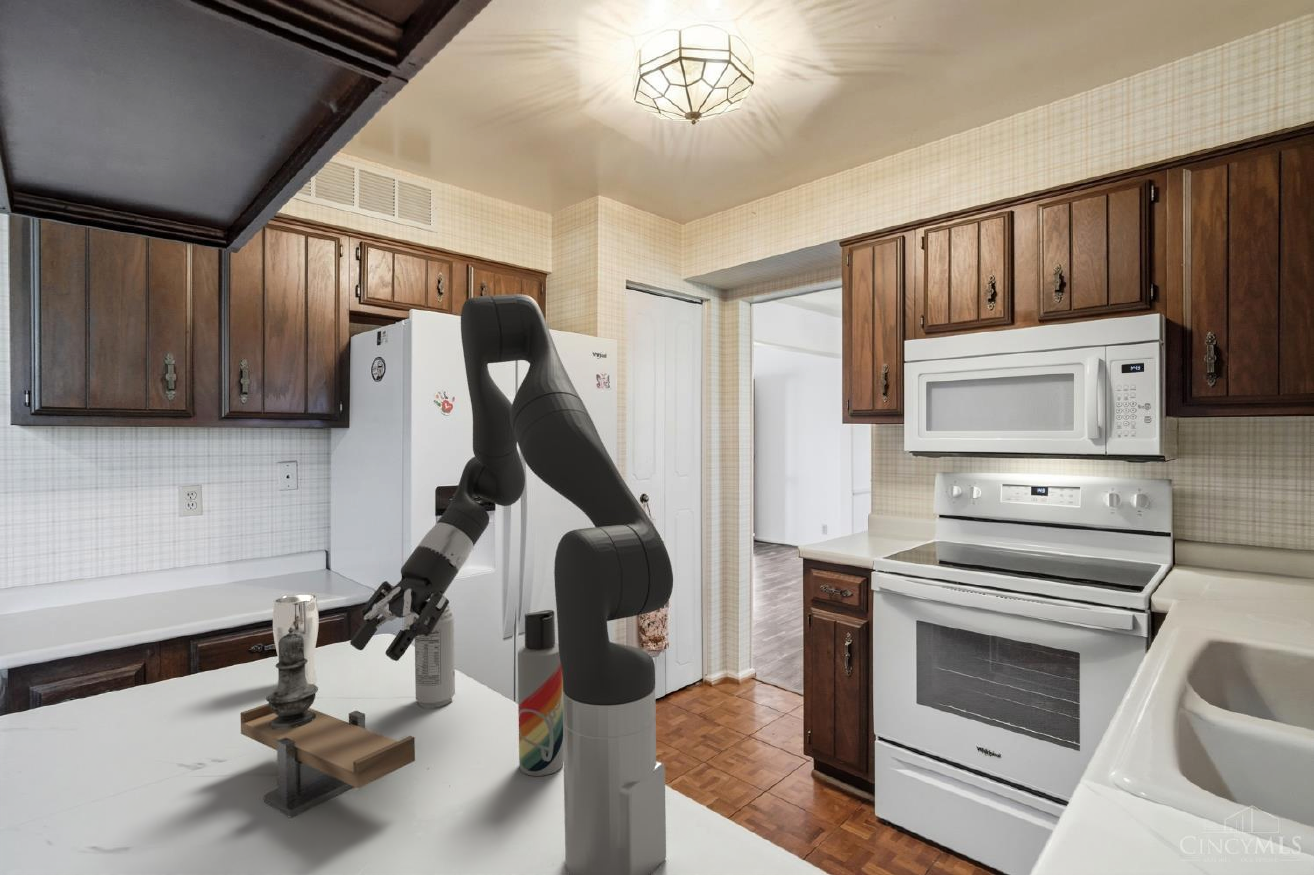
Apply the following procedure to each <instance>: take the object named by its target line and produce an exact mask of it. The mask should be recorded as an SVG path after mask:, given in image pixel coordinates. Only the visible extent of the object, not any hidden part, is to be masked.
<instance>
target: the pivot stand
mask: <svg viewBox="0 0 1314 875" xmlns="http://www.w3.org/2000/svg"><path fill="white" fill-rule="evenodd" d="M348 723H351V724H353V725H356V726H359V727H361V728H364V729H366V713H363V712H361V711H359V710H354V711H351V712H349V713H348ZM276 751H277V752H276V754H277V756H276V758H277V760H276V761H277V762H276V766H277V788H276V789H273V790H272V791H269V792H268V793H265V794H263V802H264V803H265V804H267V805H269V806H270V807H272V808H274V809H276V810H277V811H279V812H280V813H282V814H284V815H285V816H287V817H288V818H293V817H295V816H297V815H300V814H301V813H303V812H305V811H307V810H309V809H311V808H313V807H315V806H317V805H319V804H322V803H324V802H325V801H328V800H330V799H332V798H334V797H335V796H338V795H339V794H343V793H344V792H346V791H348V790H350V789H353V788H355V787H354V786H352V785H349V784H347V783H345V782H343V781H341V780H339V779H337V778H334V777H332V776H330V775H328V774H326V773H324V772H322V771H319V770H317V769H315V768H313V767H311V766H309V765H307V764H305V763H302V762H300V761H298V760H296V759H295V742H294V741H292V740H290V739H288V738H283V739H281V740H278V741H277V750H276Z"/></svg>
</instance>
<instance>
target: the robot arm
mask: <svg viewBox="0 0 1314 875" xmlns="http://www.w3.org/2000/svg"><path fill="white" fill-rule="evenodd" d="M460 335H461V336H460V337H461V345H462V351H463V358H464V367H465V374H466V381H467V387H468V393H469V400H470V404H471V413H472V452H473V455H474V456H473V457H472V458H470V459H469V460H468V461H467V462H466V463H465V466H464V468H463V470H462V473H461V477H460V479H459V483H458V486H457V488H456V490H455V493H454V495H453V497H452V499H451V501H450V503H449V505H448V507H447V508H446V509H445V511H444V512H443V513H442V515H441V516H440V518H439V519H438V520H437V522H436V523H435V525H433V527H431V529H430V530H428V532H427V533H426V534H425V535H424V537H423V538H422V539H421V541H420V542H419V543H418V545H417V546H416V547H415V549H414V550H413V552H412V553H411V555H409V557H408V558H407V560H406V561H405V563H404V564H403V565H402V566H401V568H400V574H401V580H400V581H398V583H397V584H395V585H391V583H390V582H388V581H387V580H385V581H383V582H382V583H381V584H380V585H379V587H378V588H377V589H376V590H375V591H374V593H373V594H372V596H371V597H370V598H369V599H368V600H367V601H366V603H365V604H364V606H363V607H362V608H361V609H360V611H359V614H360V615H361V616H362V617H363V620H364V621H363V623H362V624H361V625H360V626H359V628H358V629H357V631H356V632H355V633H354V635H353V636H352V638H351V640H350V642H349V643H350V645H351V646H352V647H353V648H354V649H356V650H359V651H363V650H364V649H365V648H366V647H367V645H368V644H369V642H371V639H372V637H374V635H375V633H376V632H377V630H378V629H379V627H380V626H383V625H384V624H385V623H386V622H390V621H394V620H395V619H397V618H399V619H402V618H403V626H402V627H403V628H402V629H403V630H402V629H400V630H399V631H398V632H397V634H396V635H395V637H394V638H393V640H392V642H391V643H390V645H389V646H388V648H386V650H385V655H386V657H388V658H389V659H391V660H392V661H394V662H399V661H400V659H401V658H402V657H403V656H404V654H405V652H406V651H407V650H408V649H409V648H410V645H411V644H412V642H413V641H415V638H418V637H419V636H420V635H424V636H428V635H430V633H431V632H432V630H433V629H434V627H435V625H436V624H437V622H438V620H439V619H440V617H441V615H442V614H443V612H444V610H445V609H446V607H447V606H449V604H450V600H449V599H448V598H447V597H446V596H445V593H446V591H447V590H448V588H449V587H450V586H451V585H452V582H453V581H454V579H455V578H456V577H457V575H458V573H459V572H460V570H461V569H462V568H463V566H464V565H465V563H466V562H467V560H468V558H469V556H470V554H471V552H472V550H473V548H474V546H475V545H476V544H477V542H478V540H479V539H480V537H481V536H482V535H483V533H484V532H485V530H486V529H487V527H488V525H489V523H490V515H489V513H488V512H487V510H486V509H485V508H484V507H483V506H482V505H480V503H478V502H477V501H475V500H474V498H475V497H476V496H477V497H478V498H479V497H480V498H482V499H484V500H487V501H489V502H491V503H493V504H495V505H498V506H501V507H509V506H512V505H514V504H515V503H516V502H518V501H519V499H520V498H522V495H523V493H524V490H525V486H526V475H525V471H524V470H525V469H524V467H523V463H522V460H521V456H520V454H521V455H522V457H523V460H524V461H525V464H526V465H527V466H528V467H529V469H530V470H531V472H532V473H534V474H535V476H537V477H538V478H539V479H540V480H541V481H542V482H543V483H544V484H546V485H548V487H550V488H551V489H552V490H554V491H555V492H557V493H558V494H560V495H561V496H562V497H564V499H567V500H568V501H569V502H571V503H572V504H573V505H574V506H576V507H577V508H578V509H579V510H580V511H581V512H583V513H584V514H585V515H586V517H588V519H589V521H590V522H592V524H593V525H594V527H587V528H586V527H585V528H578V529H573V530H570V531H567V532H566V533H565V534H563V536H562V537H561V539H560V540H559V542H558V544H557V548H556V551H555V558H554V570H553V571H554V572H553V573H554V575H553V576H554V595H555V607H556V618H557V621H556V622H557V639H558V640H557V641H558V643H557V644H558V647H559V656H560V663H561V669H562V676H563V744H564V762H563V797H564V798H563V799H564V800H563V802H564V805H563V806H564V807H563V810H564V812H563V813H564V846H565V847H564V849H565V851H564V852H565V855H564V856H565V858H564V859H565V868H566V871H567V873H568V875H650V874H652V873H653V872H654V871H655V870H656V868H658V867H659V866H660V865H661V864H662V863H663V862H664V860H666V859H667V829H666V828H667V827H666V826H667V824H666V823H667V822H666V819H667V818H666V817H667V816H666V815H667V814H666V766H665V764H664V763H663V762H661V761H658V760H657V731H656V730H657V728H656V727H657V725H656V724H657V722H656V721H657V719H656V715H657V712H656V711H657V710H656V705H657V704H656V665H655V662H654V659H653V657H652V656H651V655H650V654H649V653H648V652H646V651H644V650H643V649H641V648H638V647H635V646H632V645H627V644H622V643H616V642H612V641H610V638H609V637H610V636H609V631H608V622H611V621H616V620H621V619H626V618H632V617H635V616H641V615H645V614H650V613H653V612H655V611H658V610H660V609H662V608H663V607H665V605H667V603H668V602H669V601H670V599H671V596H672V593H673V588H674V574H673V567H672V563H671V559H670V555H669V553H668V550H667V547H666V545H665V543H664V541H663V539H662V537H661V535H660V533H659V531H658V530H657V528H656V527H655V525H654V523H653V522H652V521H651V519H650V518H649V516H648V515H647V513H646V511H645V510H644V509H643V507H642V506H641V504H640V503H639V501H638V500H637V498H636V497H635V495H634V494H633V493H632V491H631V490H630V488H629V486H628V485H627V483H626V481H625V480H624V479H623V477H622V476H621V474H620V472H619V470H618V468H617V466H616V464H615V463H614V461H613V459H612V458H611V456H610V454H609V452H608V451H607V449H606V446H605V445H604V443H603V441H602V439H601V437H600V435H599V432H598V430H597V427H596V425H595V423H594V422H593V420H592V417H591V415H590V414H589V411H588V410H587V407H586V405H585V403H584V402H583V400H582V399H581V397H580V395H579V393H578V392H577V389H576V388H575V386H574V384H573V382H572V380H571V379H570V377H569V374H568V373H567V370H566V368H565V366H564V365H563V363H562V360H561V358H560V355H559V353H558V351H557V348H556V344H555V342H554V340H553V337H552V334H551V332H550V330H549V326H548V323H547V321H546V319H545V316H544V314H543V311H542V310H541V308H540V306H539V304H538V302H537V301H536V300H535V299H534V298H533V297H531V296H530V295H527V294H521V293H516V294H515V293H512V294H497V295H483V296H473V297H470V298H467V299H465V301H464V303H463V305H462V307H461V313H460ZM516 361H518V362H519V361H526V362H527V363H529V366H528V370H527V372H526V375H525V377H524V378H523V380H522V382H521V384H520V386H519V388H518V389H517V392H516V394H515V396H514V398H513V401H512V402H511V401H510V399H509V398H508V397H507V396H506V395H505V393H504V392H503V391H502V390H501V389H500V387H499V386H498V385H497V384H496V382H495V381H494V380H493V378H492V377H491V373H490V371H489V366H488V364H498V363H505V362H507V363H509V362H516ZM517 446H518V447H517ZM518 448H519V450H520V453H519V450H518ZM374 605H376V606H375V607H374ZM387 606H388V607H387ZM373 607H374V608H373ZM372 608H373V609H372ZM380 615H381V616H380ZM379 616H380V617H379ZM428 617H429V618H430V620H429V622H428V623H427V625H425V624H424V622H425V621H426V619H427V618H428Z"/></svg>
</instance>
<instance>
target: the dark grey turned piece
mask: <svg viewBox="0 0 1314 875" xmlns="http://www.w3.org/2000/svg"><path fill="white" fill-rule="evenodd" d="M293 630H294V629H293V628H292V627H290V628H289V630H288V631H289V633H288V634H287V635H285V636H283V637H282V638H281V639H280V640H279V644H278V646H279V660H278V662H277V663H276V664H275V665H274V666H275V668H276V669H277V670H278V671H277V672H278V676H279V681H278V680H277V681H278V686H277V685H276V689H275V690H272V691H271V692H269V693H268V694H267V695H266V696H265V700H266V701H267V702H268V703H269V707H270V709H271V711H272V712H273V713H275V714H276V715H278V716H277V717H276V718H275V719H273V720H272V721H271V722H270V723H269V727H270V728H272V729H276V730H284V729H291V728H296V727H300V726H303V725H305V724H308V723H310V722H311V721H313V720H314V719H315V718H316V714H315V713H314V712H312V711H309V710H307V709H308V708H310V707H311V706H312V705H313V704H314V702H315V700H316V694H317V692H318V691H319V687H318V686H317V685H316V684H313V685H312V684H308V683H307V680H306V677H305V664H306V663H307V661H308V660H307V659H305V658H304V639H303V637H302V636H301V635H299V634H295V633H293Z"/></svg>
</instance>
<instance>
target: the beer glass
mask: <svg viewBox="0 0 1314 875" xmlns="http://www.w3.org/2000/svg"><path fill="white" fill-rule="evenodd" d="M319 618H320V616H319V607H318V596H317V595H316V594H312V593H298V594H291V595H286V596H282V597H278V598H276V599H274V600H273V612H272V633H273V634H272V635H273V641H274V647H275V650H276V655H277V659H278V661H279V646H278V644H279V640H280V639H281V638H282V637H283V636H285V635H287V634H288V633H289V631H288V630H289V628H290V627H292V628H293V629H294V630H293V633H295V634H299V635H301V636H302V637H303V639H304V658H305V659H307V660H308V661H307V663H306V664H305V677H306V680H307V683H308V684H312V685H316V682H317V680H318V679H317V674H316V669H315V662H314V661H315V652H316V646H317V640H318V633H319ZM278 681H279V676H278V677H277V682H276V687H277V686H278Z"/></svg>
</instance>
